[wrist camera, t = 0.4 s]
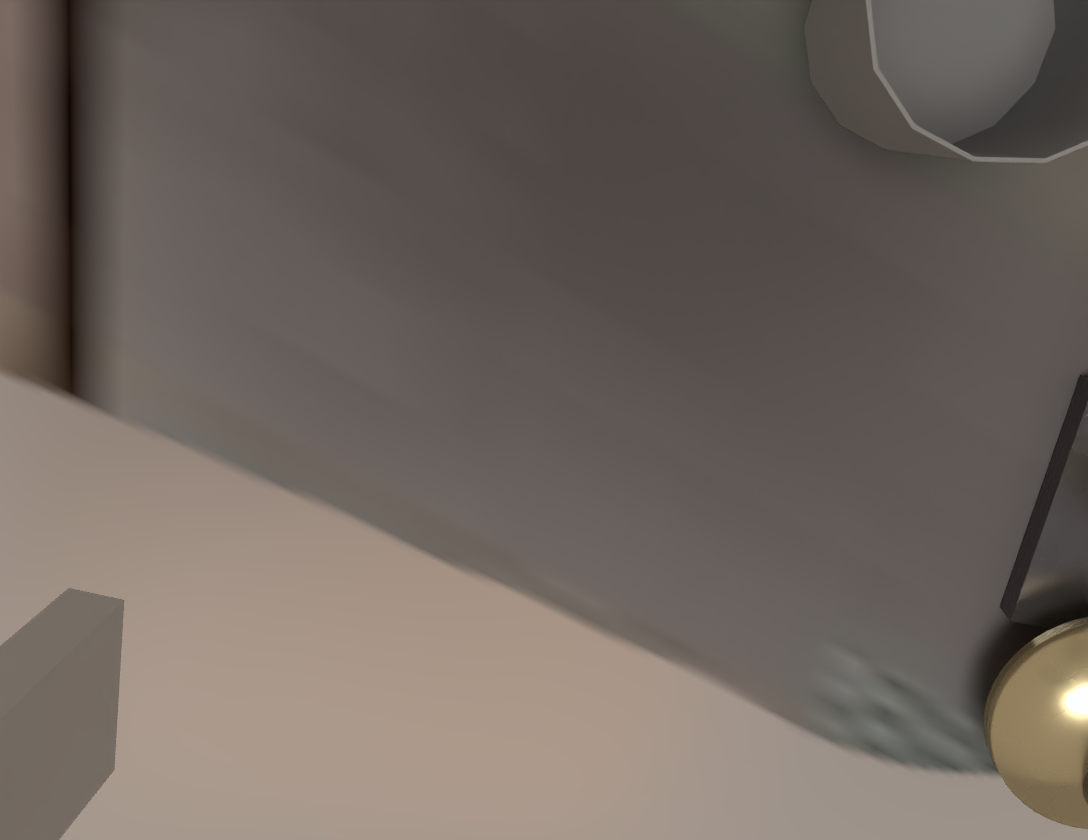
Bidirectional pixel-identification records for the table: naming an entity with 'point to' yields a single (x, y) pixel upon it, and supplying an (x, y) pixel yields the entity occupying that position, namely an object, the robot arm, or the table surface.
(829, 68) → the cup
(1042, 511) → the balance
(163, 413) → the table surface
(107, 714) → the robot arm
